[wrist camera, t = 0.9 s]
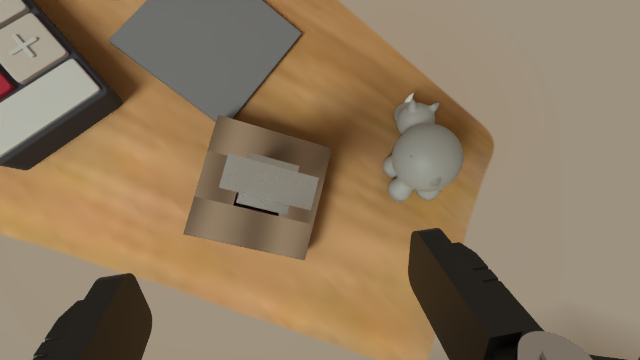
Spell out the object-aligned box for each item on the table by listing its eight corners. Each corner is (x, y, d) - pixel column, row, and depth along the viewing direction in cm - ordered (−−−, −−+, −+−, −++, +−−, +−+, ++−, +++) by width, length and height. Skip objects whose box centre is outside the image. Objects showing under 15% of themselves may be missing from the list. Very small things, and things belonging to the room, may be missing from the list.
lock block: (188, 231, 33) (183, 234, 30) (220, 121, 35) (218, 114, 32) (299, 255, 36) (304, 260, 33) (325, 152, 37) (332, 148, 34)
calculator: (-11, -45, 28) (106, 88, 29) (24, -11, 32) (125, 104, 33) (-141, 23, 26) (-11, 166, 26) (-86, 50, 30) (26, 172, 31)
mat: (110, 43, 33) (108, 40, 32) (199, -49, 35) (198, -53, 35) (224, 128, 35) (224, 127, 34) (300, 35, 37) (301, 33, 37)
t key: (228, 198, 34) (215, 198, 20) (237, 166, 35) (231, 142, 20) (283, 212, 36) (308, 220, 21) (291, 180, 36) (321, 167, 21)
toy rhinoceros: (418, 123, 43) (456, 77, 36) (438, 207, 38) (488, 174, 30) (367, 118, 41) (396, 70, 34) (382, 206, 36) (420, 171, 29)
